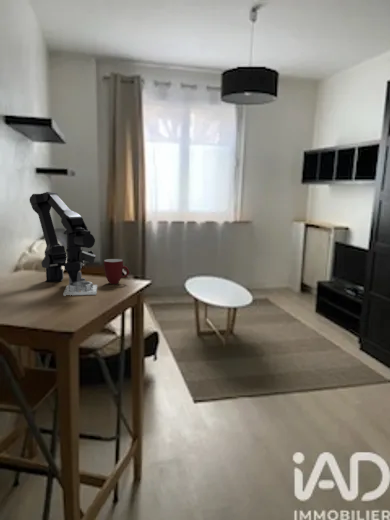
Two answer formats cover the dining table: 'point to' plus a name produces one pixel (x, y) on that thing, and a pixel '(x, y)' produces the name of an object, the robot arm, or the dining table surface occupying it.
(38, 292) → the dining table surface
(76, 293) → the hub
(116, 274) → the mug
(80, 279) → the knob
